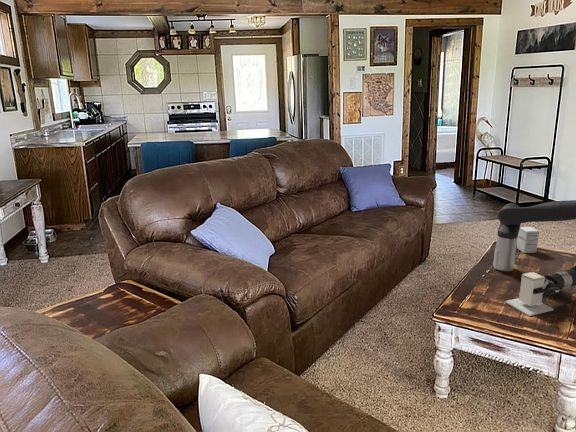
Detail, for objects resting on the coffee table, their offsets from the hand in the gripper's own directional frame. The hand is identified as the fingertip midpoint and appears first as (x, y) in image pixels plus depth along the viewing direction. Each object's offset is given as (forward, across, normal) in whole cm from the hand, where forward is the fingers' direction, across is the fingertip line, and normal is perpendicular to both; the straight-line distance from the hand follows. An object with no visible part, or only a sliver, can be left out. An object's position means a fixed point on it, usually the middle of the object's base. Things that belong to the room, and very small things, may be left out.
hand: (527, 288), depth 194 cm
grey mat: (-2, 0, +9) cm, 9 cm away
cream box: (-2, 0, +7) cm, 7 cm away
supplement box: (-51, -48, +9) cm, 71 cm away
